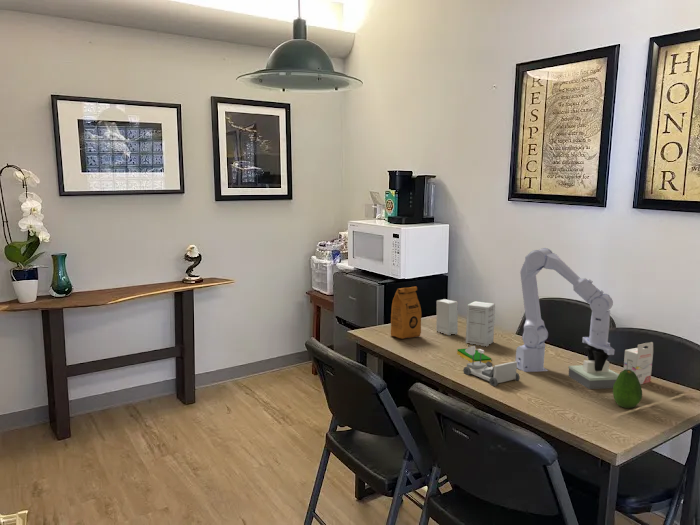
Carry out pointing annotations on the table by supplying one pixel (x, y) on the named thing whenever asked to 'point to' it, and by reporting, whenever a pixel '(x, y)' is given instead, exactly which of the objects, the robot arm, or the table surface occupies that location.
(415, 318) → the coffee package
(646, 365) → the ink cartridge box
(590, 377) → the lid
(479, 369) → the toy car
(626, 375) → the avocado
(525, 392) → the table surface
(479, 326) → the supplement box
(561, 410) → the table surface
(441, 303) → the skincare box
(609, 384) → the storage box
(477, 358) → the dish sponge
